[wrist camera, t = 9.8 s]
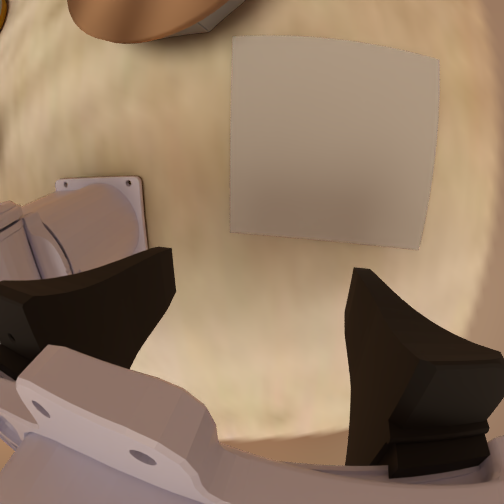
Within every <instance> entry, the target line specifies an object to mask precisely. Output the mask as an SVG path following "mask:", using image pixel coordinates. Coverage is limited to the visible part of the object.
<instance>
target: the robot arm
mask: <svg viewBox="0 0 504 504" xmlns="http://www.w3.org/2000/svg"><path fill="white" fill-rule="evenodd" d="M128 180H130V181H131V185H129V183H128ZM67 184H68V186H67ZM55 187H56V192H53V193H51V194H49V195H46V196H44V197H42V198H39V199H37V200H35V201H33V202H30V203H28V204H26V205H24V206H22V207H21V206H20V205H16V204H15V203H13V202H12V201H5V202H2V203H0V438H1V439H2V440H3V441H4V442H5V443H6V444H7V445H9V446H10V447H11V448H12V449H13V450H14V451H15V452H14V453H13V455H12V456H11V458H10V459H9V460H8V462H7V464H6V465H5V466H4V468H3V469H2V471H1V472H0V504H504V436H499V437H497V438H494V439H492V440H490V441H489V442H487V441H486V437H485V434H486V433H487V432H488V431H489V425H488V422H487V418H488V417H489V416H490V415H491V413H492V412H493V411H494V410H495V408H496V407H497V406H498V404H499V403H500V402H501V400H502V399H503V397H504V358H503V356H502V354H501V352H499V351H496V350H493V349H490V348H487V347H484V346H481V345H478V344H475V343H473V342H470V341H468V340H466V339H463V338H461V337H459V336H457V335H455V334H453V333H451V332H449V331H447V330H445V329H444V328H442V327H440V326H438V325H436V324H435V323H433V322H432V321H430V320H429V319H427V318H426V317H424V316H423V315H421V314H420V313H419V312H417V311H416V310H414V309H413V308H412V307H411V306H409V305H408V304H407V303H406V302H405V301H404V300H402V299H401V298H400V297H399V296H398V295H397V294H396V293H395V292H393V291H392V290H391V289H390V288H389V287H388V286H387V285H386V284H385V283H384V282H383V281H382V280H381V279H380V278H379V277H378V276H377V275H376V274H375V273H374V272H373V271H371V270H370V269H365V268H355V267H354V269H353V274H352V279H351V284H350V289H349V294H348V299H347V304H346V308H345V340H346V348H347V356H348V364H349V372H350V383H351V403H350V423H349V436H348V446H347V455H346V462H345V466H335V465H314V464H302V463H292V462H283V461H275V460H271V459H268V458H265V457H261V456H258V455H255V454H251V453H249V452H245V451H243V450H240V449H237V448H234V447H231V446H228V445H225V444H223V443H220V442H219V441H218V436H217V429H216V424H215V422H214V420H213V418H212V417H211V415H210V413H209V411H208V409H207V408H206V406H205V405H204V404H203V403H202V402H200V401H199V400H198V399H196V398H195V397H194V396H193V395H191V394H190V393H189V392H187V391H186V390H185V389H184V388H181V387H179V386H177V385H174V384H172V383H169V382H167V381H165V380H162V379H160V378H158V377H154V376H150V375H147V374H143V373H140V372H137V371H133V370H130V367H131V365H132V363H133V361H134V359H135V357H136V355H137V353H138V352H139V350H140V348H141V347H142V345H143V344H144V342H145V341H146V340H147V338H148V337H149V335H150V334H151V332H152V331H153V330H154V328H155V327H156V325H157V324H158V322H159V321H160V319H161V318H162V317H163V315H164V314H165V312H166V311H167V309H168V307H169V305H170V303H171V301H172V299H173V297H174V295H175V293H176V286H175V277H174V268H173V258H172V248H165V247H155V248H151V249H148V245H147V237H146V228H145V218H144V207H143V195H142V182H141V179H140V178H139V177H138V176H110V177H85V178H67V179H59V180H57V181H56V183H55Z"/></svg>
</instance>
